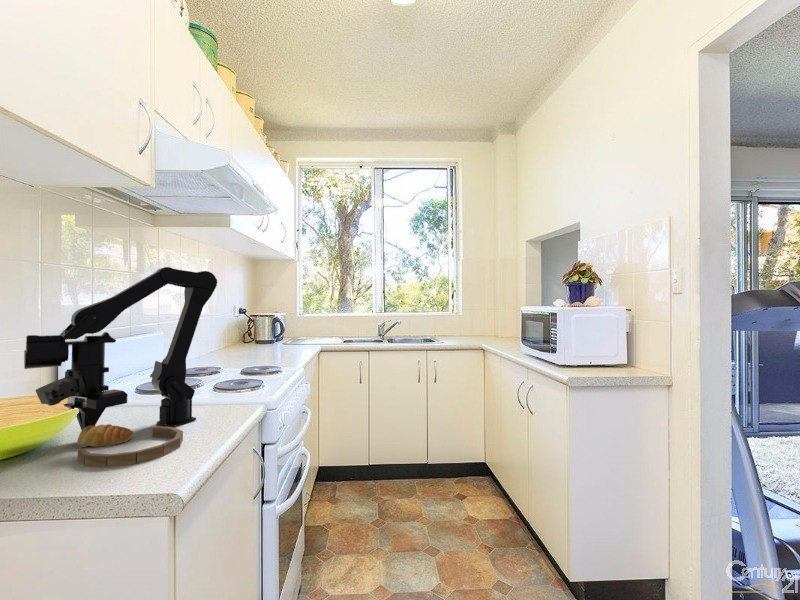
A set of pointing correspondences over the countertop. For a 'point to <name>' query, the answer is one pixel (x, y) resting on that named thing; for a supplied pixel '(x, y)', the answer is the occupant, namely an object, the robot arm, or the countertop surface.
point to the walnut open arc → (135, 456)
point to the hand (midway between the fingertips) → (86, 434)
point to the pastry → (103, 435)
